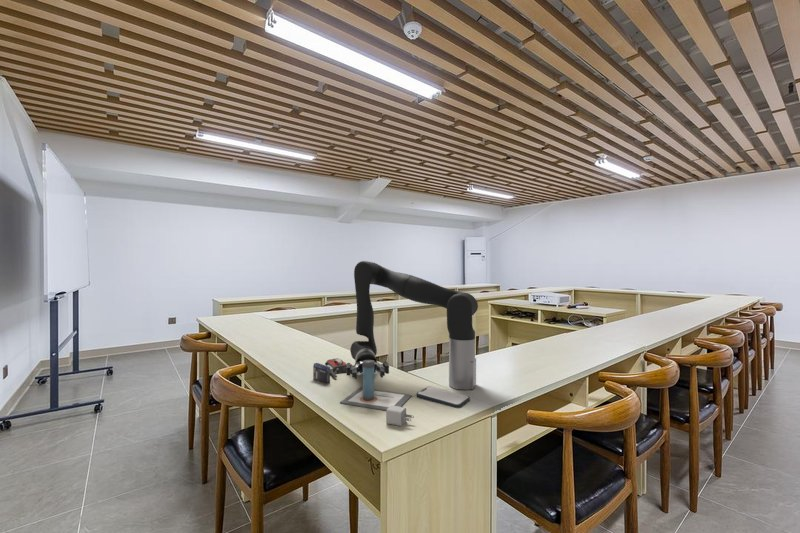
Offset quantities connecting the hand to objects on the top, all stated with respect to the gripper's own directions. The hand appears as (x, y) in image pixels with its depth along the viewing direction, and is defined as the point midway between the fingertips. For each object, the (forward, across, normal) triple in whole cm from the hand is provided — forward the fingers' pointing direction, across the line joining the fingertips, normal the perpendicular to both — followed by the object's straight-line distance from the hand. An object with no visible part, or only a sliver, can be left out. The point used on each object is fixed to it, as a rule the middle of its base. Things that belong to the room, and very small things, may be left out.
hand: (368, 375), depth 111 cm
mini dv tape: (-24, -16, +9) cm, 30 cm away
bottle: (-2, 0, +8) cm, 8 cm away
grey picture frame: (-3, +3, +9) cm, 10 cm away
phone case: (-1, +24, +10) cm, 26 cm away
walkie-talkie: (-35, -11, +10) cm, 38 cm away
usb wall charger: (+15, +8, +9) cm, 19 cm away
